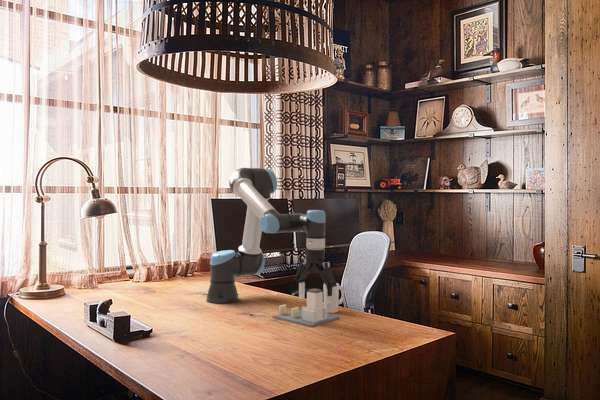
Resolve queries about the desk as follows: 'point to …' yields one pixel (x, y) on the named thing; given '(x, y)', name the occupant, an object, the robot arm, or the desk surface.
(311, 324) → the board
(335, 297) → the mug
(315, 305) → the block
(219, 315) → the desk surface
